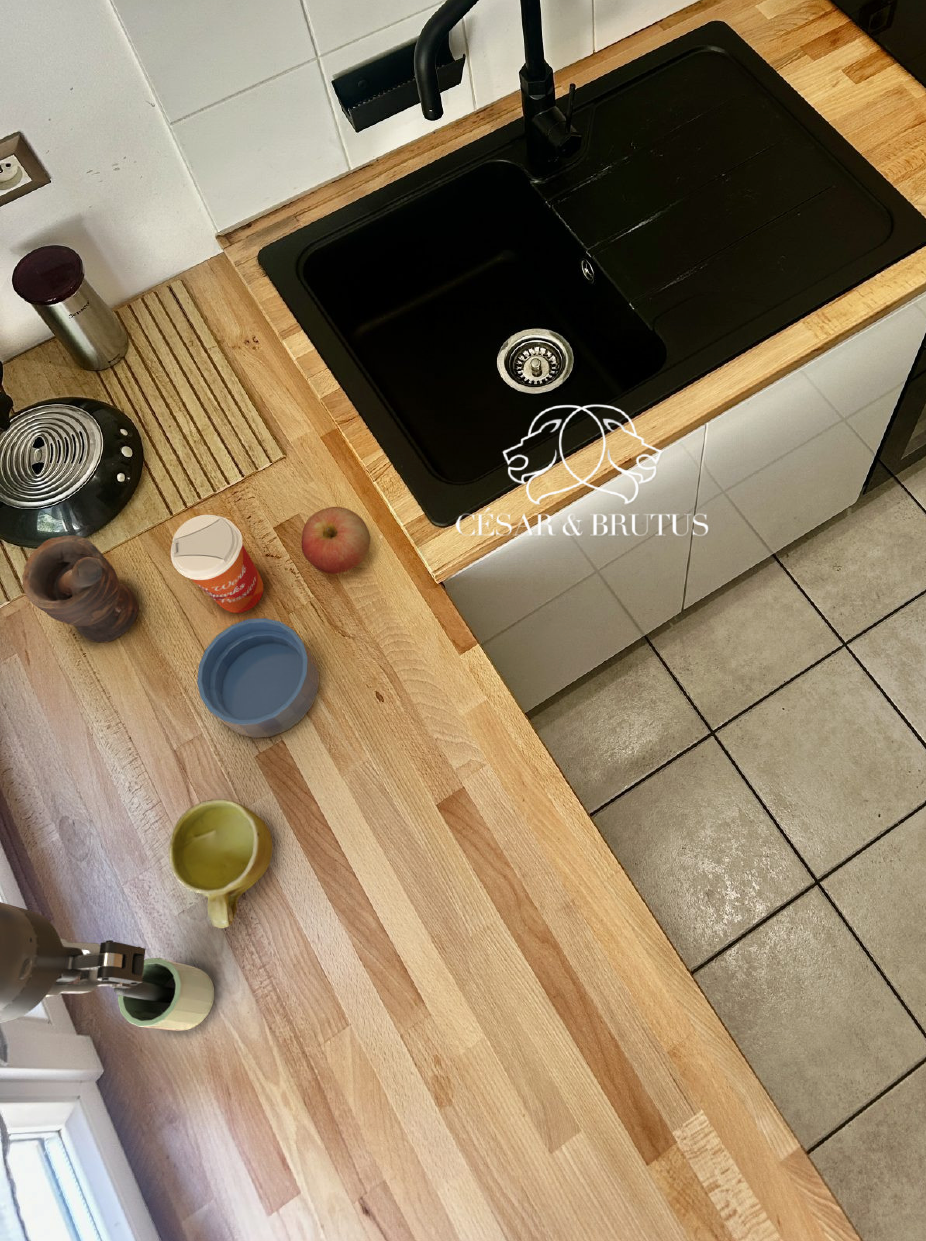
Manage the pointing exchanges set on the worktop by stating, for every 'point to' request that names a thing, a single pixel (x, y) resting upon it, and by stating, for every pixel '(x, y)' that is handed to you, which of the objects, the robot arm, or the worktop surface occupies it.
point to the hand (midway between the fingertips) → (78, 978)
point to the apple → (335, 540)
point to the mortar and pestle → (79, 588)
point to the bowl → (258, 677)
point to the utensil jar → (186, 1005)
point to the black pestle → (151, 993)
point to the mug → (220, 854)
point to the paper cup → (217, 562)
